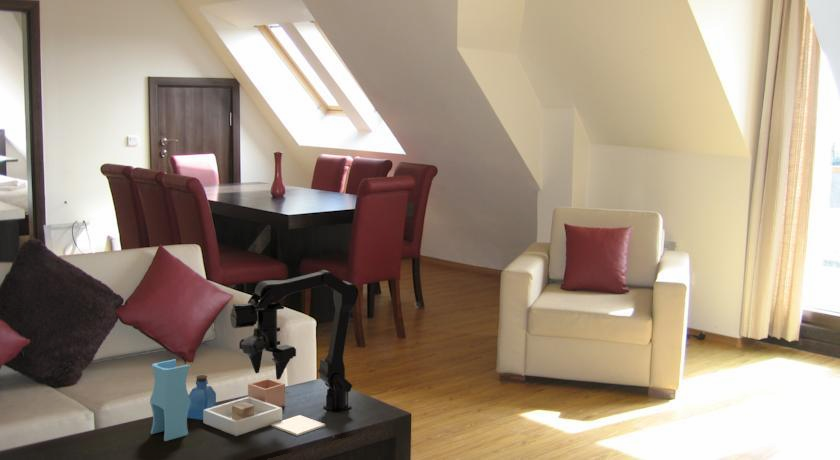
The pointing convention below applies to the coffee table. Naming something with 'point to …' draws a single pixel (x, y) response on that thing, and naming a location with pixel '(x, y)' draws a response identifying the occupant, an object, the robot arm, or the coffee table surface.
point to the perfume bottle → (201, 398)
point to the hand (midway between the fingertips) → (267, 376)
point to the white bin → (262, 418)
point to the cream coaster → (298, 425)
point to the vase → (170, 400)
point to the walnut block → (242, 411)
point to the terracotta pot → (268, 392)
